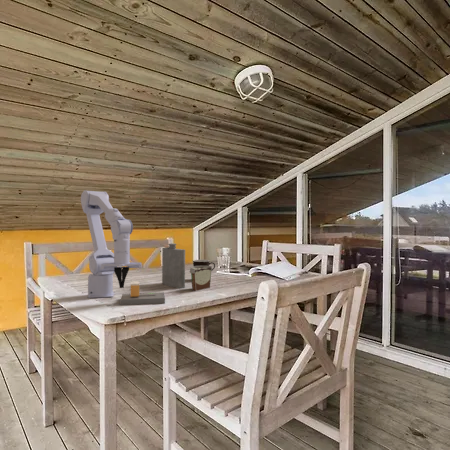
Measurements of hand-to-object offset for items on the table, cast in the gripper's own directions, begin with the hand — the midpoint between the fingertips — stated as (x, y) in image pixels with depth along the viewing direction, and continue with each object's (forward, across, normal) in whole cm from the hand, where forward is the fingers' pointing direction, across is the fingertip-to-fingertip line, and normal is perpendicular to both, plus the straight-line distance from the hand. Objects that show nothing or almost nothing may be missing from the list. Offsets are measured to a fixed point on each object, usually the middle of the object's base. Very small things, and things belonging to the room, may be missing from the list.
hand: (121, 287), depth 133 cm
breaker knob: (+3, +5, 0) cm, 6 cm away
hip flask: (+6, +21, +29) cm, 36 cm away
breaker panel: (+6, +8, 0) cm, 10 cm away
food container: (+6, +32, +20) cm, 38 cm away
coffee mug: (+6, +38, +42) cm, 57 cm away
